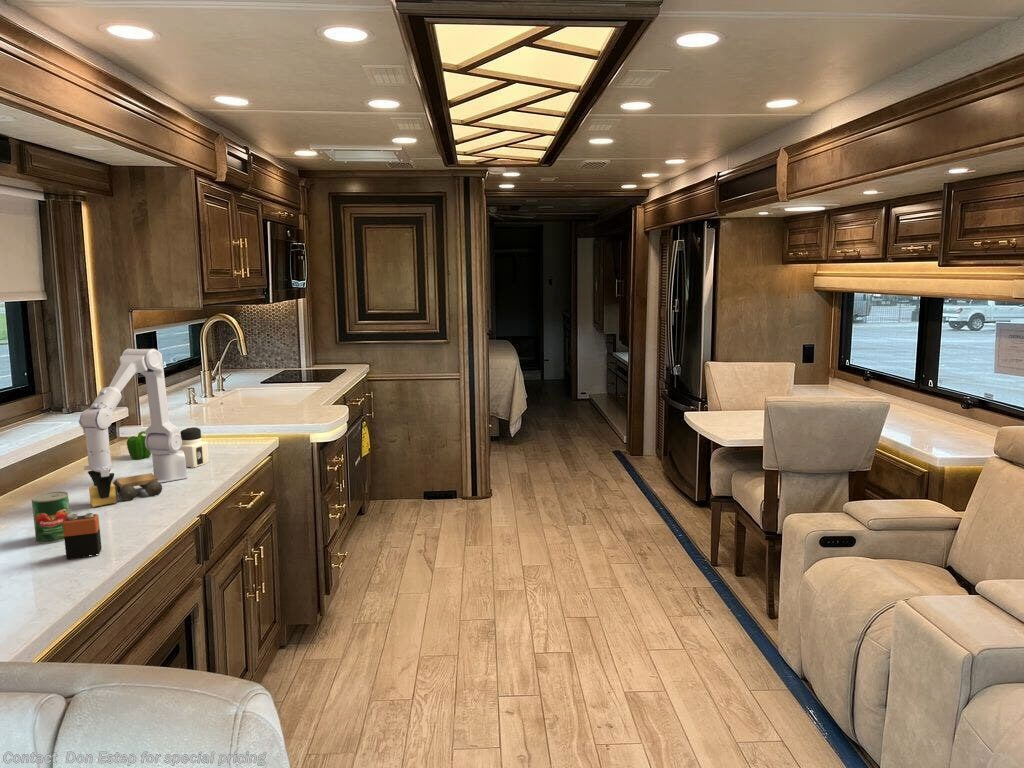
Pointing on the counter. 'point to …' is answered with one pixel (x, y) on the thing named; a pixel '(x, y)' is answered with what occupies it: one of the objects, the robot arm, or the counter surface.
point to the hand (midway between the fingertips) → (103, 495)
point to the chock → (97, 501)
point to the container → (194, 447)
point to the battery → (82, 535)
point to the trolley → (143, 481)
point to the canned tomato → (50, 516)
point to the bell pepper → (138, 447)
